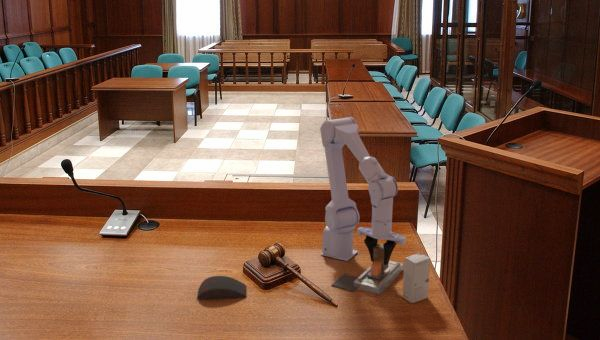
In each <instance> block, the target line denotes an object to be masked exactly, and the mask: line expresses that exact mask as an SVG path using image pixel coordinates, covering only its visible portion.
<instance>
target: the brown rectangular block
mask: <svg viewBox="0 0 600 340" xmlns="http://www.w3.org/2000/svg"><path fill="white" fill-rule="evenodd" d="M383 244H384V243H381V242H377V245H376V246H374V247H373V262H375V261H379V262H382V267H381V271H382V272H384V271H385V270H386V269H387V268H388V265H389V263H388V264H387V265H384V247H383ZM373 262H372V263H373Z"/></svg>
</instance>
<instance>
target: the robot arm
mask: <svg viewBox="0 0 600 340" xmlns="http://www.w3.org/2000/svg"><path fill="white" fill-rule="evenodd" d="M359 129H360V128H359V125H358V124H357V121H356V120H355V118H354V117H352V116H347V117H343V118H335V119H326V120H324V121H323V122H322V124H321V126H320V134H321V135H320V137H321V144H322V147H324V152H325V159H326V160H325V161H326V166H327V174H328V182H329V189H330V194H331V195H330V196H331V201H329V203H328V204H326V206H325V208H324V209H325V216H324V222H325V225H326V226H325V227H324V229H323V231H322V237H321V238H322V240H321V243H322V244H321V250H322V251H321V252H320V255H322V256H325V257H328V258H331V259H332V258H333V259H335V260H340V261H344V262H349V260H351V259H352V258H353V257H354V256H355V255H356V254H357V253H358V250H356V249H354V230H355V229H356V235H357V236H358V237H359V236H364V237H365V238H364V240H363V242H364V245H365V246H366V248H367V250H368V253H369V257H370V262H372V263H373V247H374V246H376V245H377V244H378V243H379V242H378V241H379V240H383V241H385V242H384V243H382V244H383V247H384V265H387V264H388V263H389V260H390V259H391V256H392V254H393V251H394V249H395V247H396V245H397V244H399V245H400V246H404V245H405V244H407V237H406V236H405V235H404V236H403V235H401V234H398V233H396V232H393V231H392V226H393V205H394V197H395V196H397V194H398V192H399V186H398V182H397V181H396V179H395V178H394V176H391V175H389V173H386V172H385V170H384V169H383V167H382V166H381V165H380V163H379V161H378V160H377V158H376V157H374V156H370V153H369V152H368V150H367V149H366V146H365V144H364V143H363V141H362V139H361V136H360V135H359ZM345 145H346V147H347V148H348V149H349V151H351V153H352V155H353V156H354V157H355V159H356V160H357V161H358V162H359V163H358V164H359V165H358V170H359V171H360V173H361V175H362V176H363V178H364V179H365V181H366V182H367V184H368V186H369V187H368V188H367V189H368V193H369V197H370V203H371V205H372V206H371V227H363V226H359V227H358V228H356V226H357V225H359V222H360V213H359V210H358V208H357V203H356V202H355V201H354V200H352V199H351V198H349V191H348V190H349V189H348V186H347V183H348V182H347V177H346V169H345V162H344V156H343V147H344V146H345ZM390 261H391V260H390Z"/></svg>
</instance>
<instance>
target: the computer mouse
mask: <svg viewBox="0 0 600 340" xmlns="http://www.w3.org/2000/svg"><path fill="white" fill-rule="evenodd" d="M196 298H197V300H226V299H227V300H228V299H243V298H244V299H245V298H247V284H245V283H243V282H242V281H240V280H238V279H237V278H234V277H230V276H227V275H225V276H224V275H214V276H210V277H206V278H205V279H204V280H203V281H202V282H201V284H200V285H199V287H198V290H197V297H196Z"/></svg>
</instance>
